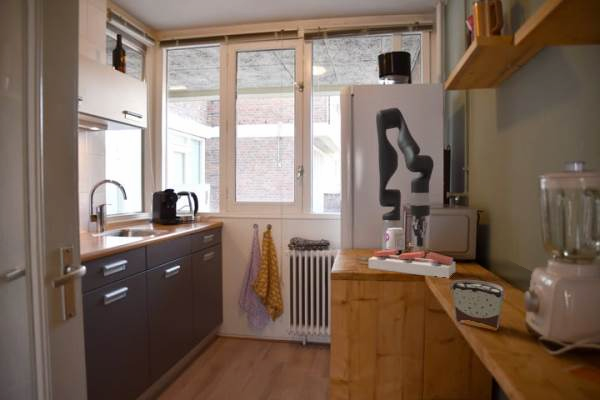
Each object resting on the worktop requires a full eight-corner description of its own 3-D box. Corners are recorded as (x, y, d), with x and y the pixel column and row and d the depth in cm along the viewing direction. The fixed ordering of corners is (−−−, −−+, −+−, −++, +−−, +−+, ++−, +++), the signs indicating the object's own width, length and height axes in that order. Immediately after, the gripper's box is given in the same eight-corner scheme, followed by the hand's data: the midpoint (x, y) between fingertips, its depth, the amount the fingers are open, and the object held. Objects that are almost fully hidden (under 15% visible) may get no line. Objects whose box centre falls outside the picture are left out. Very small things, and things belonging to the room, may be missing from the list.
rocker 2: (429, 255, 143) (430, 252, 143) (452, 261, 138) (453, 257, 138) (425, 258, 138) (426, 254, 138) (449, 264, 133) (450, 260, 133)
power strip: (362, 261, 162) (362, 250, 161) (455, 271, 139) (455, 259, 139) (351, 266, 152) (351, 254, 152) (448, 278, 129) (448, 265, 129)
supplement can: (385, 261, 160) (385, 229, 160) (387, 257, 168) (387, 227, 168) (404, 262, 158) (403, 229, 157) (404, 258, 166) (404, 227, 165)
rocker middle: (403, 256, 149) (403, 253, 149) (424, 255, 144) (424, 251, 144) (399, 259, 144) (398, 255, 144) (420, 257, 139) (420, 253, 139)
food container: (510, 325, 85) (510, 285, 84) (504, 333, 80) (505, 290, 80) (457, 313, 93) (457, 277, 93) (449, 320, 88) (449, 281, 88)
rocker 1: (379, 254, 155) (378, 250, 155) (398, 252, 150) (398, 249, 150) (374, 256, 150) (373, 253, 150) (394, 255, 145) (393, 251, 145)
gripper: (415, 203, 149) (415, 243, 150) (405, 204, 138) (405, 247, 139) (433, 203, 145) (433, 244, 145) (425, 204, 134) (425, 249, 134)
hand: (420, 246), depth 142 cm, fingers closed
